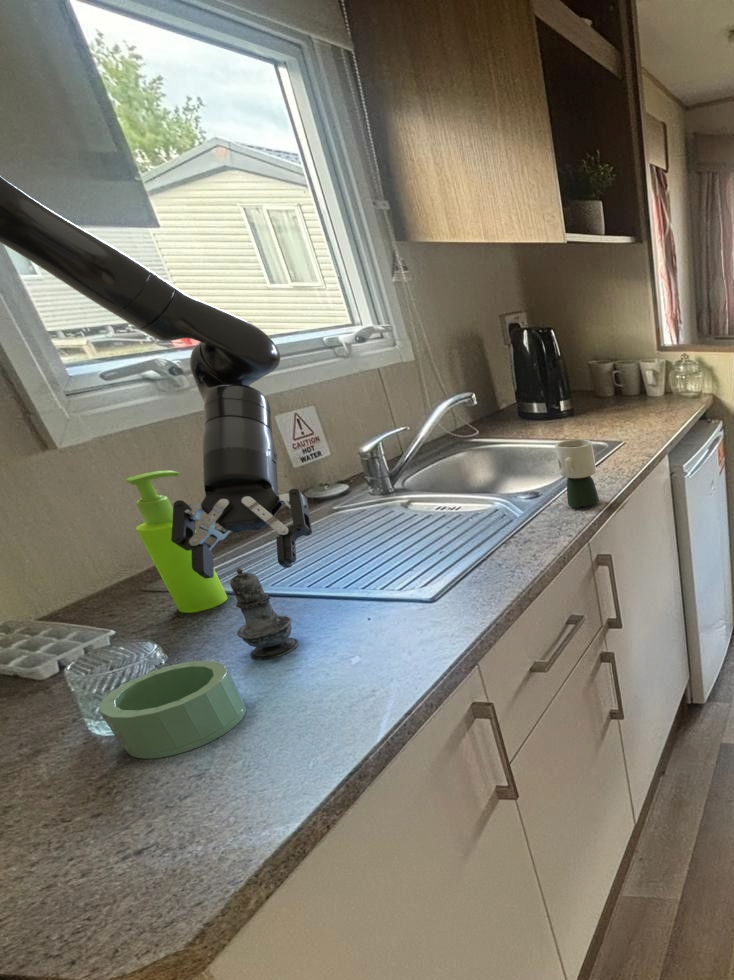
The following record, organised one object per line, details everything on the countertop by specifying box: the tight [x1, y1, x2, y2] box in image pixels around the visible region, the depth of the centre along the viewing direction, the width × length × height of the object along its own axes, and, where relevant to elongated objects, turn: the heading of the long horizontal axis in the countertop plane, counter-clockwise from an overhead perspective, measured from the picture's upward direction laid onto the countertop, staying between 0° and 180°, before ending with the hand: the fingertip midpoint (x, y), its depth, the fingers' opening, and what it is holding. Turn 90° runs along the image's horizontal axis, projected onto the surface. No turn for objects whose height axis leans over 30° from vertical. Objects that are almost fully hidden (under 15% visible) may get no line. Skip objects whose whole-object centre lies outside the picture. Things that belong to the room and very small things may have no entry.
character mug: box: [554, 438, 600, 509], centre depth 134 cm, size 11×7×13 cm, turn 0°
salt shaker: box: [229, 567, 300, 661], centre depth 85 cm, size 6×6×12 cm
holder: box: [99, 660, 247, 760], centre depth 72 cm, size 10×10×6 cm
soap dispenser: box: [124, 470, 228, 614], centre depth 95 cm, size 6×7×20 cm
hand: (246, 570), depth 84 cm, fingers open, 8 cm apart
